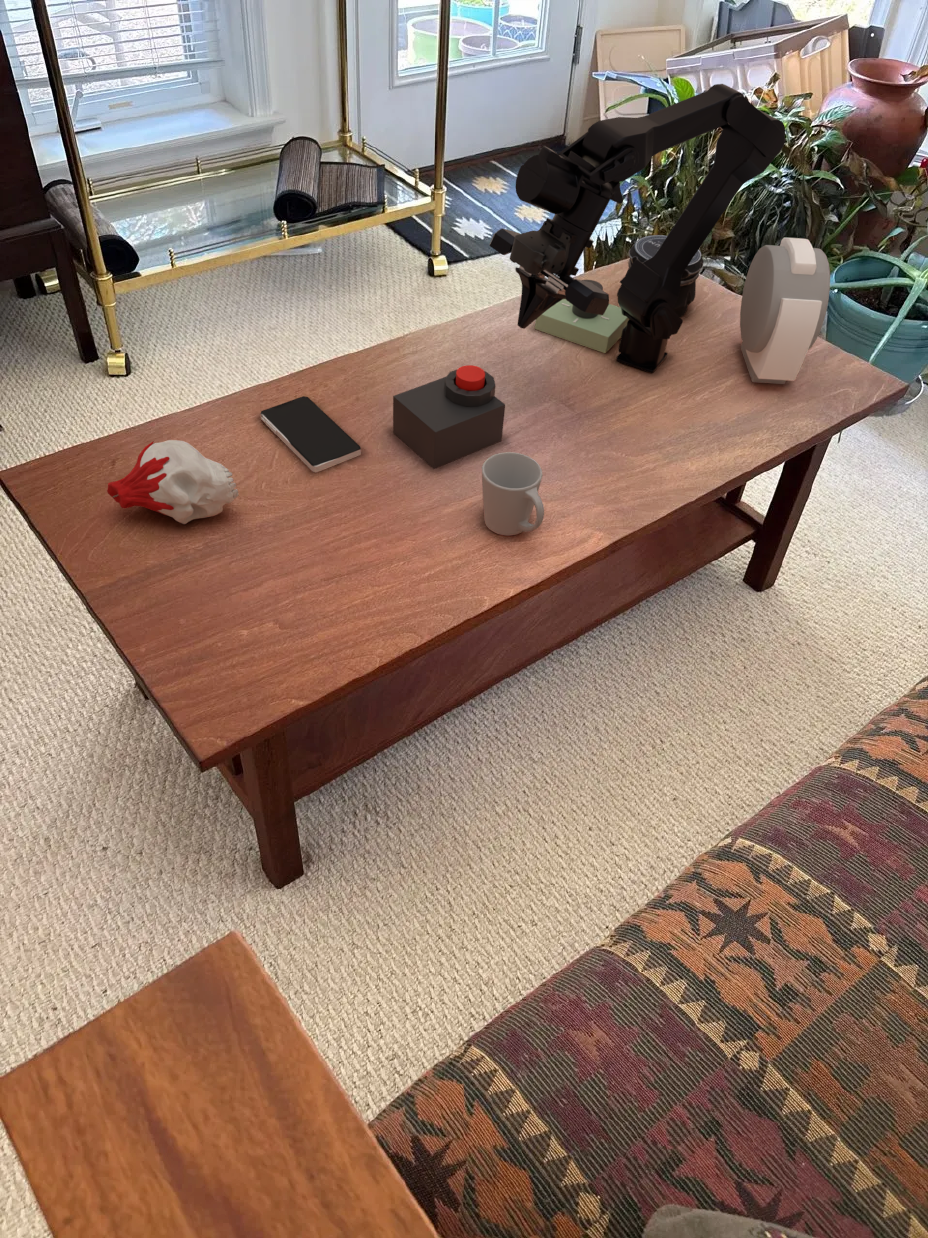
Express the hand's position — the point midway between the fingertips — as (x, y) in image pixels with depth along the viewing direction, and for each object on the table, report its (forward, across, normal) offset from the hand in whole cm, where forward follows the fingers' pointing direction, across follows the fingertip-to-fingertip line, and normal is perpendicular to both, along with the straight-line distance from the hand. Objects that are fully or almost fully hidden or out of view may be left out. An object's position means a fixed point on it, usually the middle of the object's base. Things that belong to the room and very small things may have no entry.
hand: (521, 327), depth 136 cm
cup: (+17, +22, -16) cm, 33 cm away
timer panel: (+1, -5, +26) cm, 26 cm away
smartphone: (+24, -9, -22) cm, 34 cm away
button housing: (+16, +3, -9) cm, 19 cm away
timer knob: (-2, -5, +25) cm, 25 cm away
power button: (+8, +2, -9) cm, 12 cm away
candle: (+34, -8, -42) cm, 55 cm away
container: (-6, -2, +41) cm, 41 cm away
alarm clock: (-8, +21, +38) cm, 44 cm away
